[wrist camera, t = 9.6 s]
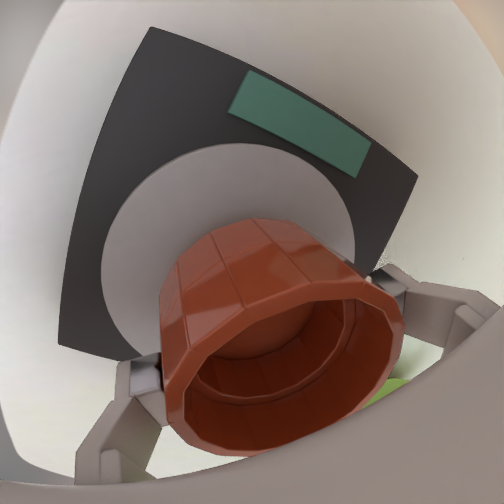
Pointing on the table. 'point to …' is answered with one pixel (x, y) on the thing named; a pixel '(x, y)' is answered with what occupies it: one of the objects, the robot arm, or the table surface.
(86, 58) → the table surface
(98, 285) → the scale
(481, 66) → the table surface
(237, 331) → the orange cup
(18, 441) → the table surface
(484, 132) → the table surface
